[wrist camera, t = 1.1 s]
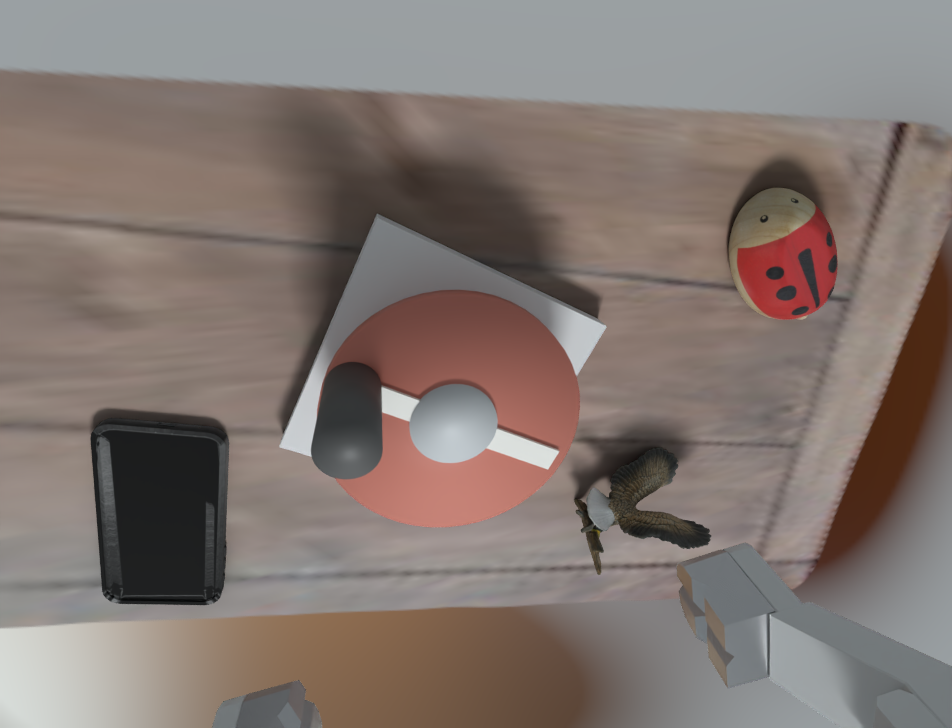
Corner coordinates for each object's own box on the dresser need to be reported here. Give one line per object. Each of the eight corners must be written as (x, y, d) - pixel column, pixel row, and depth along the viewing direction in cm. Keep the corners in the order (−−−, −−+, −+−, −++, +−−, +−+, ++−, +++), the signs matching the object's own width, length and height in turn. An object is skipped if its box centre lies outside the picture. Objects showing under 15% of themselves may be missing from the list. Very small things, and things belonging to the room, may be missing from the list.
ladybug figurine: (791, 162, 34) (835, 166, 31) (833, 281, 38) (875, 295, 35) (702, 225, 34) (735, 236, 31) (753, 335, 39) (787, 354, 36)
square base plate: (283, 434, 35) (270, 474, 31) (377, 213, 30) (376, 227, 26) (490, 498, 40) (502, 540, 36) (598, 318, 36) (626, 343, 32)
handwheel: (617, 349, 31) (682, 410, 25) (500, 536, 36) (528, 629, 29) (382, 241, 26) (384, 281, 20) (281, 473, 31) (255, 569, 24)
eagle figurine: (596, 558, 44) (705, 529, 42) (598, 591, 37) (729, 557, 35) (566, 469, 44) (672, 438, 43) (562, 484, 37) (688, 447, 36)
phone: (103, 603, 38) (88, 422, 32) (110, 590, 39) (97, 413, 33) (222, 605, 39) (228, 434, 34) (226, 593, 40) (232, 425, 35)
